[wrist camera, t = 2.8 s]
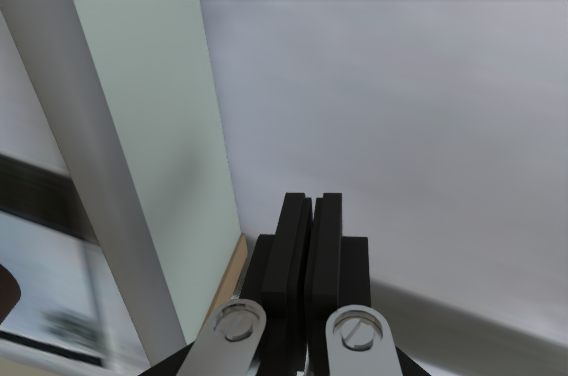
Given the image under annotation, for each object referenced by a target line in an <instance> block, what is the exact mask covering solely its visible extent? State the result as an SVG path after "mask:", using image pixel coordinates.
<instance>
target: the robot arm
mask: <svg viewBox="0 0 568 376" xmlns="http://www.w3.org/2000/svg"><path fill="white" fill-rule="evenodd" d="M307 344H308V355H309V366H310V372H313V373H314V376H431V375H430V374H429V373H427V372H426V371H425V370H424V369H423V368H421V367H420V366H419V365H418V364H417V363H415V362H414V361H413V360H412V359H411V358H409V357H408V356H407V355H406V354H405V353H404V352H402V351H401V350H400V349H399V348H398V347H396V346H395V345H394V342H393V338H392V335H391V331H390V327H389V325H388V323H387V321H386V319H385V318H384V317H383V316H382V315H381V314H380V313H379V312H377V311H375V310H374V309H372V308H371V298H370V276H369V255H368V238H367V237H346V236H342V193H324V194H323V198H316V205H315V212H314V219H313V213H312V199H311V198H305V194H304V193H286V195H285V199H284V202H283V206H282V210H281V214H280V218H279V222H278V225H277V229H276V233H275V235H267V234H260V235H259V237H258V239H257V242H256V246H255V249H254V252H253V255H252V258H251V262H250V265H249V268H248V271H247V274H246V278H245V281H244V284H243V287H242V290H241V294H240V297H239V299H235V300H230V301H227V302H225V303H223V304H221V305H220V306H218V307H217V308H216V309H215V310H214V311H213V312H212V313H211V315H210V316H209V318H208V319H207V321H206V323H205V325H204V327H203V328H202V330H201V332H200V334H199V336H198V337H197V339H196V340H195V341H194V342H192V343H190V344H189V345H187V346H185V347H184V348H182V349H181V350H179V351H177V352H176V353H174V354H172V355H171V356H169V357H167V358H166V359H164V360H163V361H161V362H159V363H158V364H156V365H154V366H153V367H151V368H150V369H148V370H146V371H145V372H143V373H141V374H140V375H138V376H297V371H301V372H304V370H305V362H306V353H307Z"/></svg>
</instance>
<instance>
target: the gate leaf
mask: <svg viewBox="0 0 568 376" xmlns="http://www.w3.org/2000/svg"><path fill="white" fill-rule="evenodd" d="M0 9H1V11H2V13H3V16H4V18H5V21H6V23H7V25H8V28H9V30H10V32H11V35H12V37H13V40H14V42H15V44H16V47H17V49H18V51H19V54H20V56H21V59H22V61H23V63H24V66H25V68H26V70H27V73H28V75H29V78H30V80H31V82H32V85H33V87H34V89H35V92H36V94H37V97H38V99H39V101H40V104H41V106H42V108H43V111H44V113H45V116H46V118H47V120H48V123H49V125H50V127H51V130H52V132H53V135H54V137H55V139H56V142H57V144H58V146H59V149H60V151H61V153H62V156H63V158H64V161H65V163H66V165H67V168H68V170H69V172H70V175H71V177H72V180H73V182H74V184H75V187H76V189H77V191H78V194H79V196H80V199H81V201H82V203H83V206H84V208H85V210H86V213H87V215H88V218H89V220H90V222H91V225H92V227H93V229H94V232H95V234H96V237H97V239H98V241H99V244H100V246H101V248H102V251H103V253H104V256H105V258H106V260H107V263H108V265H109V267H110V270H111V272H112V274H113V277H114V279H115V282H116V284H117V286H118V289H119V291H120V293H121V296H122V298H123V301H124V303H125V305H126V308H127V310H128V312H129V315H130V317H131V320H132V322H133V324H134V327H135V329H136V331H137V334H138V336H139V339H140V341H141V343H142V346H143V348H144V350H145V353H146V355H147V358H148V360H149V362H150V365H151V367H153V366H154V365H156V364H158V363H159V362H161V361H163V360H164V359H166V358H167V357H169V356H171V355H172V354H174V353H176V352H177V351H179V350H181V349H182V348H184V347H185V346H187V345H189V344H190V343H192V342H194V341H195V340H196V339H197V337H198V336H199V334H200V332H201V330H202V328H203V327H204V325H205V323H206V321H207V319H208V318H209V316H210V315H211V313H212V312H213V311H214V310H215V309H216V308H217V307H218V306H220V305H221V304H223V303H225V302H227V301H230V299H231V297H232V294H233V291H234V289H235V286H236V283H237V281H238V278H239V275H240V273H241V270H242V268H243V265H244V262H245V260H246V257H247V254H248V252H247V246H246V240H245V235H244V234H242V233H241V229H240V224H239V218H238V213H237V207H236V202H235V196H234V190H233V185H232V179H231V174H230V168H229V162H228V157H227V151H226V146H225V140H224V135H223V129H222V123H221V118H220V112H219V107H218V101H217V95H216V90H215V84H214V79H213V73H212V68H211V62H210V56H209V51H208V45H207V40H206V34H205V29H204V23H203V17H202V12H201V6H200V1H199V0H0Z"/></svg>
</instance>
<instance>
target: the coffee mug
mask: <svg viewBox="0 0 568 376" xmlns="http://www.w3.org/2000/svg"><path fill="white" fill-rule="evenodd" d="M20 297H21V290H20V287H19V285H18V283H17V281H16V279H15V278H14V277H13V276H12V274H11V273H10V272H9V271H8V270H7V269H6V268H4V267H3V266H2V265H1V264H0V325H1V323H2V322H3V321H4V319H5V318H6V317H7V315H8V314H9V313H10V311H11V310H12V309H13V308H14V306H15V305H16V304H17V302H18V301H19V300H20Z"/></svg>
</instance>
